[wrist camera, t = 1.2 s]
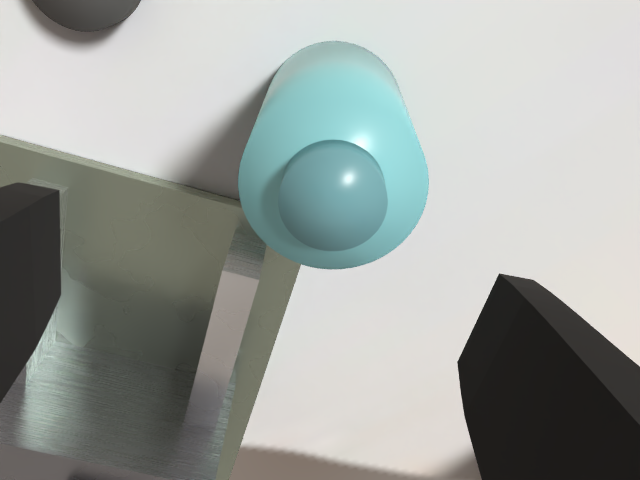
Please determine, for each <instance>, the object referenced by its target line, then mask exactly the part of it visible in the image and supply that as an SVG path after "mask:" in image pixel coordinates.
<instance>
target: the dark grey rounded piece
mask: <svg viewBox="0 0 640 480" xmlns="http://www.w3.org/2000/svg"><path fill="white" fill-rule="evenodd" d="M140 1H141V0H33V2H34V3H35V4H36V6H37V7H38V8H39V9H40V10H41V11H42V12H43V13H44V14H45V15H47V16H48V17H49V18H50V19H52V20H53V21H55V22H57V23H58V24H60V25H62V26H64V27H67V28H69V29H73V30H77V31H98V30H101V29H104V28H107V27H109V26H111V25H114V24H116V23H118V22H120V21H123V20H124V19H126V18H127V17H129V16H130V15H131V14H132V13H133V12H134V10H135V9H136V8H137V7H138V5H139V3H140Z"/></svg>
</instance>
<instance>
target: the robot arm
mask: <svg viewBox="0 0 640 480" xmlns="http://www.w3.org/2000/svg"><path fill="white" fill-rule="evenodd" d="M60 296H61V253H60V193H59V190H57V189H52V188H46V187H41V186H36V185H31V184H25V183H20V182H18V183H14V184H10V185H7V186H3V187H0V403H1V402H2V400H3V398H4V397H5V395H6V394H7V392H8V391H9V389H10V388H11V386H12V385H13V383H14V382H15V380H16V379H17V377H18V376H19V374H20V372H21V371H22V369H23V368H24V366H25V365H26V363H27V362H28V360H29V359H30V357H31V355H32V354H33V352H34V351H35V349H36V347H37V345H38V343H39V341H40V339H41V337H42V335H43V333H44V331H45V329H46V327H47V325H48V323H49V321H50V318H51V316H52V314H53V312H54V310H55V307H56V305H57V303H58V301H59V299H60ZM458 371H459V380H460V388H461V396H462V402H463V409H464V416H465V419H466V423H467V427H468V431H469V435H470V438H471V442H472V446H473V449H474V453H475V457H476V460H477V464H478V467H479V471H480V474H481V478H482V480H640V367H639V366H638V365H637V364H636V363H635V362H633V361H632V360H631V359H630V358H629V357H627V356H626V355H625V354H624V353H623V352H621V351H620V350H619V349H618V348H617V347H616V346H614V345H613V344H612V343H611V342H610V341H608V340H607V339H606V338H605V337H604V336H603V335H601V334H600V333H599V332H598V331H597V330H596V329H594V328H593V327H592V326H591V325H590V324H589V323H587V322H586V321H585V320H584V319H583V318H581V317H580V316H579V315H578V314H577V313H576V312H574V311H573V310H572V309H571V308H570V307H568V306H567V305H566V304H565V303H563V302H562V301H561V300H560V299H559V298H557V297H556V296H555V295H553V294H552V293H551V292H550V291H548V290H547V289H546V288H544V287H543V286H541V285H540V284H538V283H537V282H535V281H534V280H530V279H525V278H520V277H515V276H509V275H504V274H499V275H498V277H497V279H496V282H495V284H494V286H493V288H492V290H491V292H490V294H489V296H488V299H487V301H486V303H485V305H484V307H483V309H482V311H481V313H480V315H479V318H478V320H477V322H476V324H475V326H474V328H473V330H472V332H471V335H470V337H469V339H468V341H467V343H466V345H465V347H464V349H463V352H462V354H461V356H460V358H459V360H458Z"/></svg>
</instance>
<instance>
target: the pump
mask: <svg viewBox="0 0 640 480" xmlns="http://www.w3.org/2000/svg"><path fill="white" fill-rule="evenodd" d="M428 185H429V178H428V168H427V164H426V160H425V156H424V154H423V151H422V148H421V146H420V143H419V140H418V138H417V135H416V132H415V130H414V127H413V124H412V122H411V119H410V116H409V114H408V111H407V108H406V106H405V103H404V100H403V98H402V95H401V92H400V90H399V87H398V84H397V82H396V79H395V78H394V76H393V74H392V72H391V71H390V69H389V68H388V67H387V65H386V64H385V63H384V62H383V61H382V60H381V59H380V58H379V57H377V56H376V55H375V54H373V53H372V52H370V51H369V50H367V49H365V48H363V47H360V46H358V45H355V44H351V43H347V42H340V41H327V42H321V43H317V44H313V45H310V46H308V47H306V48H303V49H301V50H300V51H298V52H296V53H295V54H293V55H292V56H291V57H290V58H289V59H287V60H286V61H285V62H284V63H283V65H282V66H281V67H280V68H279V69H278V71H277V72H276V74H275V75H274V78H273V80H272V82H271V84H270V86H269V89H268V91H267V94H266V96H265V99H264V102H263V104H262V107H261V109H260V112H259V114H258V117H257V119H256V122H255V124H254V127H253V130H252V132H251V135H250V137H249V140H248V142H247V145H246V147H245V150H244V153H243V156H242V159H241V162H240V167H239V173H238V190H239V198H240V201H241V205H242V209H243V211H244V213H245V216H246V218H247V220H248V222H249V223H250V225H251V227H252V228H253V230H254V231H255V232H256V234H257V235H258V236H259V237H260V238H261V239H262V240H263V241H264V242H265V243H266V244H267V245H268V246H269V247H270V248H272V249H273V250H274V251H276V252H277V253H279V254H280V255H282V256H284V257H285V258H287V259H290V260H292V261H294V262H296V263H299V264H302V265H305V266H310V267H314V268H321V269H345V268H353V267H357V266H361V265H364V264H367V263H370V262H373V261H375V260H377V259H379V258H381V257H383V256H385V255H386V254H388V253H389V252H391V251H392V250H394V249H395V248H396V247H397V246H398V245H400V244H401V243H402V242H403V241H404V240H405V239H406V238H407V237H408V235H409V234H410V233H411V232H412V230H413V229H414V227H415V226H416V225H417V223H418V221H419V219H420V217H421V215H422V213H423V210H424V207H425V204H426V200H427V195H428Z"/></svg>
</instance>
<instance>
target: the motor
mask: <svg viewBox="0 0 640 480" xmlns="http://www.w3.org/2000/svg"><path fill="white" fill-rule="evenodd" d="M18 182H20V183H25V184H31V185H36V186H41V187H46V188H52V189H57V190H59V193H60V253H61V296H60V299H59V301H58V303H57V305H56V307H55V310H54V312H53V314H52V316H51V318H50V321H49V323H48V325H47V327H46V329H45V331H44V333H43V335H42V337H41V339H40V341H39V343H38V345H37V347H36V349H35V351H34V352H33V354H32V355H31V357H30V359H29V360H28V362H27V363H26V365H25V366H24V368H23V369H22V371H21V372H20V374H19V376H18V377H17V379H16V380H15V382H14V383H13V385H12V386H11V388H10V389H9V391H8V392H7V394H6V395H5V397H4V398H3V400H2V402H1V403H0V480H229V478H230V475H231V471H232V469H233V466H234V463H235V460H236V457H237V454H238V451H239V448H240V445H241V442H242V439H243V436H244V433H245V430H246V427H247V424H248V421H249V418H250V415H251V412H252V409H253V406H254V403H255V400H256V397H257V394H258V391H259V388H260V385H261V382H262V379H263V376H264V373H265V370H266V367H267V364H268V361H269V358H270V355H271V352H272V349H273V346H274V343H275V340H276V337H277V334H278V331H279V328H280V325H281V322H282V319H283V316H284V313H285V310H286V307H287V304H288V301H289V299H290V296H291V293H292V290H293V287H294V284H295V281H296V278H297V275H298V272H299V269H300V266H301V264H299V263H296V262H294V261H292V260H290V259H287V258H285V257H284V256H282V255H280V254H279V253H277V252H276V251H274V250H273V249H272V248H270V247H269V246H268V245H267V244H266V243H265V242H264V241H263V240H262V239H261V238H260V237H259V236H258V235H257V234H256V232H255V231H254V230H253V228H252V227H251V225H250V223H249V222H248V220H247V218H246V216H245V213H244V211H243V209H242V205H241V201H238V200H235V199H231V198H227V197H224V196H220V195H217V194H213V193H209V192H206V191H202V190H198V189H195V188H191V187H188V186H184V185H180V184H177V183H173V182H169V181H166V180H162V179H158V178H155V177H151V176H148V175H144V174H140V173H137V172H133V171H129V170H126V169H122V168H119V167H115V166H111V165H108V164H104V163H100V162H97V161H93V160H90V159H86V158H82V157H79V156H75V155H71V154H68V153H64V152H61V151H57V150H53V149H50V148H46V147H42V146H39V145H35V144H32V143H28V142H24V141H21V140H17V139H13V138H10V137H6V136H3V135H0V187H3V186H7V185H10V184H14V183H18Z"/></svg>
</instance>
